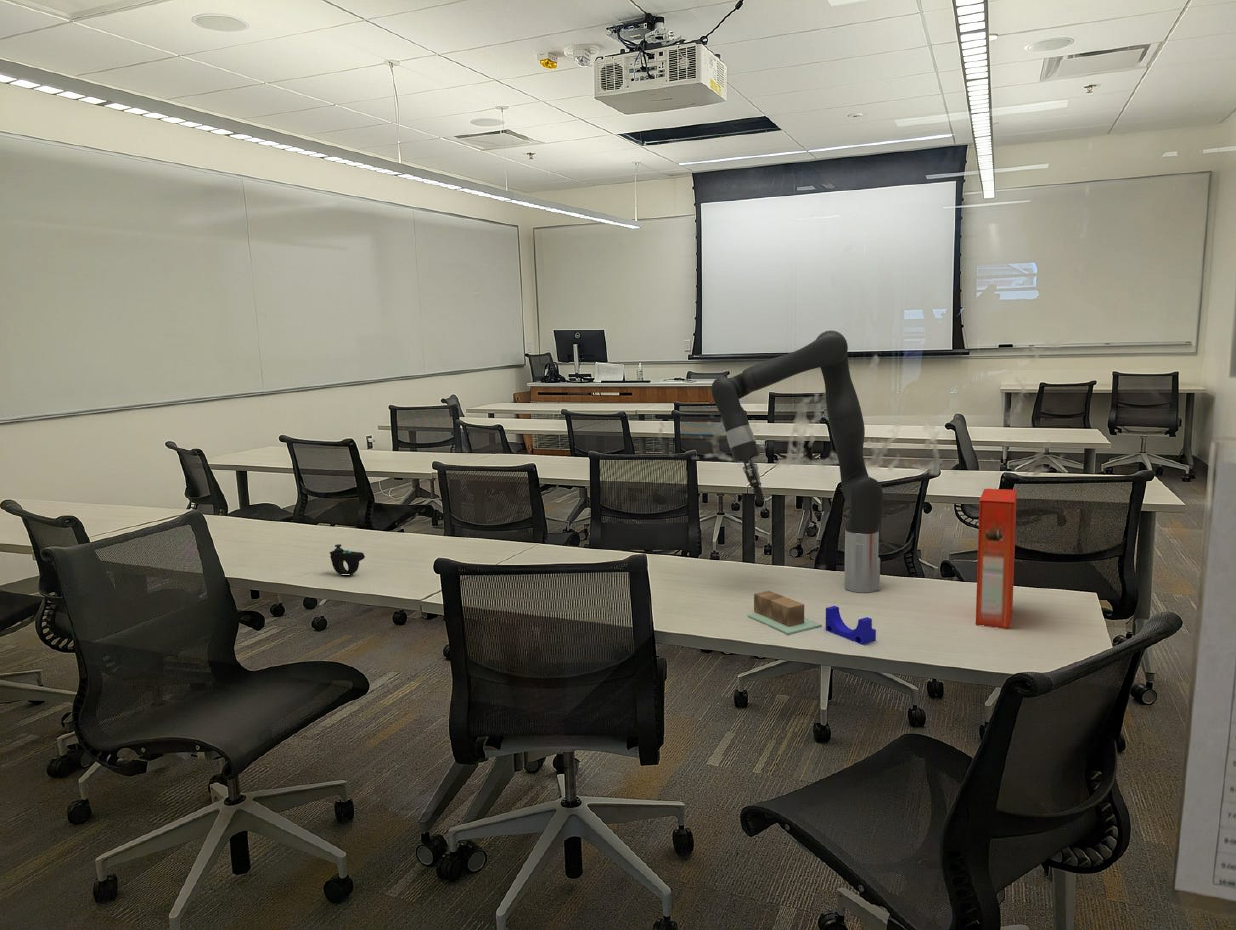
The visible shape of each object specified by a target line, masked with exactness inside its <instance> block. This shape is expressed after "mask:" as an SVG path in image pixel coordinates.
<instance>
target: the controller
mask: <svg viewBox="0 0 1236 930" xmlns="http://www.w3.org/2000/svg"><path fill="white" fill-rule="evenodd" d="M334 547H335V549H333V550H332V551H330V552H329V554H330V561H331V564H332V567H333V568H332V569H334V571H335V572H336V573H337V574H338V575H340V574H352V575H354V574H355V573H356V572H357V571H358V569H359V566H360V561H363V560H364V559H365V558H366V556H365V554H364V552H361V551H352V550H344V549H343V548H341V547H342V544H341V543H340V544H335V545H334ZM344 562H345V563H346V564H347V569H346V567H345V565H344Z"/></svg>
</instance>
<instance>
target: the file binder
mask: <svg viewBox="0 0 1236 930" xmlns="http://www.w3.org/2000/svg"><path fill="white" fill-rule="evenodd" d="M1017 495H1018V491H1017V489H1005V488H1003V489H1002V488H1001V489H1000V488H983V491H982V494H981V495H980V498H979V503H978V505H979V506H978V508H979V509H978V532H977V533H978V534H977V535H978V536H977V537H978V538H977V541H978V542H977V567H976V568H977V570H976V571H977V572H976V576H977V577H976V597H975V598H976V599H975V600H976V601H975V602H976V604H975V605H976V606H975V607H976V608H975V610H976V611H975V625H976V624H977V625H976V626H979V625H984V626H983V627H987V626H989V628H995V627H998V629H1004V630H1005V629H1006V630H1008V629H1011V624H1012V615H1013V607H1014V606H1013V603H1014V577H1015V555H1016V554H1015V550H1016V525H1017V524H1016V523H1017V521H1016V519H1017V518H1016V517H1017V499H1018V498H1017V497H1018V496H1017ZM990 626H991V627H990Z"/></svg>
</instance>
